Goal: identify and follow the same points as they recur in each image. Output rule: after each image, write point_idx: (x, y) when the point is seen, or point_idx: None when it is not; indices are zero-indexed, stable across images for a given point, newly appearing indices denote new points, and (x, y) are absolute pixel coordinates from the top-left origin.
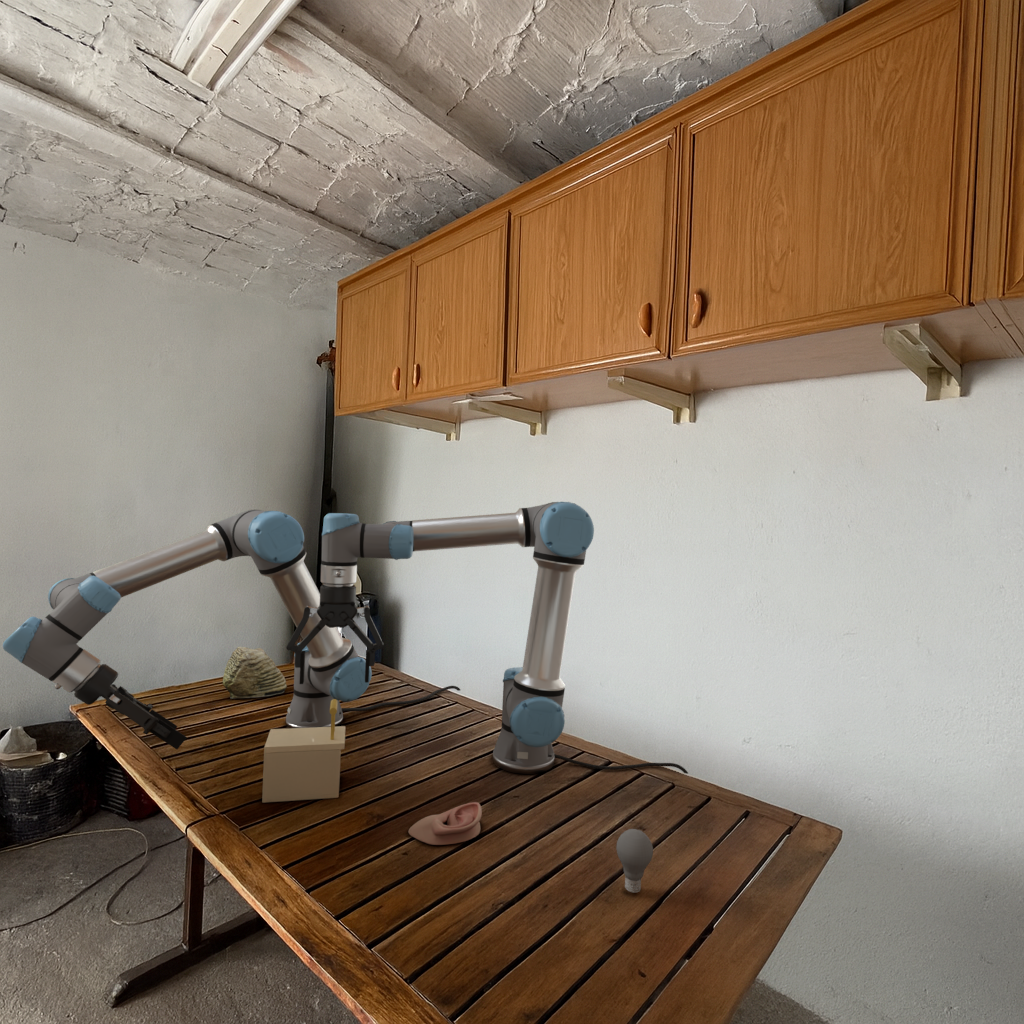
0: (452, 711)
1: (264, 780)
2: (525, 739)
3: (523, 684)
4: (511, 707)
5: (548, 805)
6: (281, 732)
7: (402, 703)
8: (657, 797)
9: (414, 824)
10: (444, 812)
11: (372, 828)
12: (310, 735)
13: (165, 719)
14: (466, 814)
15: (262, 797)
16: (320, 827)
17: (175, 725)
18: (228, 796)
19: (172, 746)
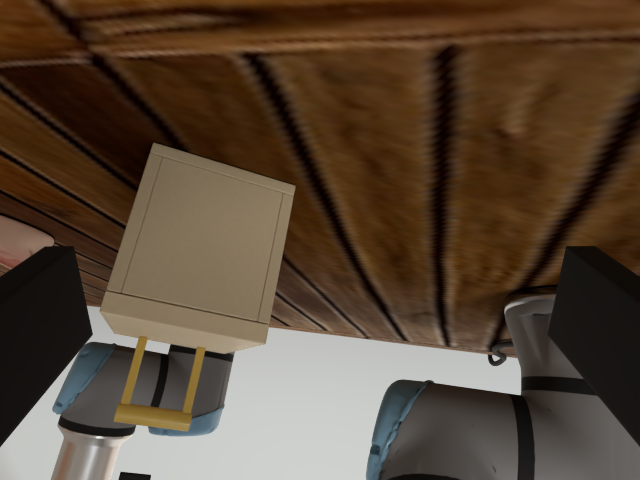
0: (421, 337)
1: (134, 205)
2: (79, 353)
3: (69, 432)
4: (99, 394)
5: (86, 275)
6: (224, 340)
7: (503, 343)
8: (97, 297)
9: (8, 224)
10: (17, 251)
11: (9, 197)
12: (179, 339)
13: (611, 404)
14: (9, 257)
15: (149, 156)
16: (5, 163)
17: (558, 342)
18: (231, 104)
19: (20, 265)
